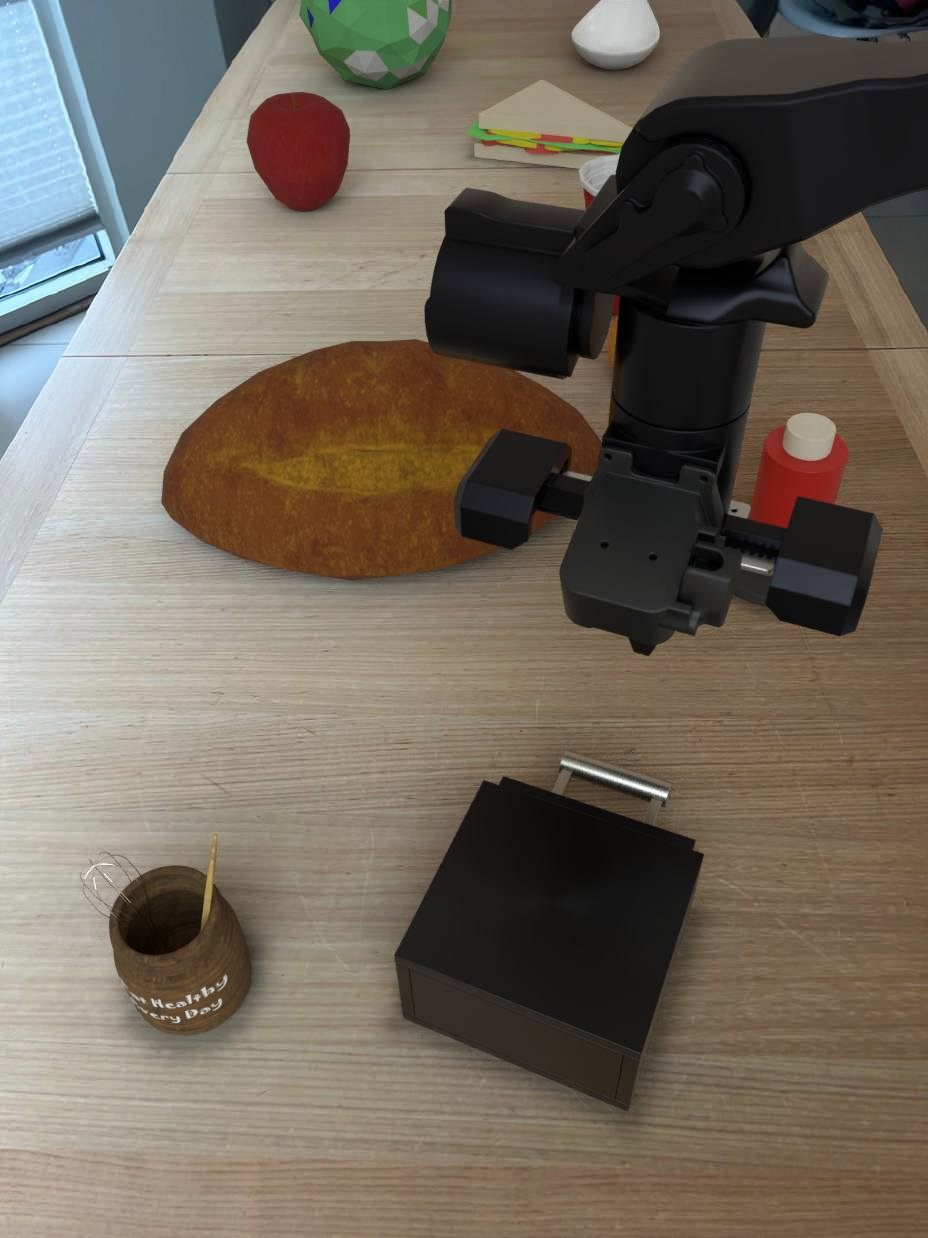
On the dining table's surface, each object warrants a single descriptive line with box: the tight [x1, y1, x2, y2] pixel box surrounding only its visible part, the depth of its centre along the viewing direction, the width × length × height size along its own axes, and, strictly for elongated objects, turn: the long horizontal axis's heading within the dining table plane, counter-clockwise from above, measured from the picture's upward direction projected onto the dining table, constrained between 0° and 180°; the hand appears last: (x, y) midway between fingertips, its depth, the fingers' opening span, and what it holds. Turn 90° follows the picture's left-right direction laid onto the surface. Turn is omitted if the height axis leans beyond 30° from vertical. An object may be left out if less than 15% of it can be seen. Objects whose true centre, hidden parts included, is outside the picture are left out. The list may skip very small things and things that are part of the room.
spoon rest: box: [570, 0, 661, 71], centre depth 147 cm, size 24×12×7 cm, turn 167°
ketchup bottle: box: [748, 412, 850, 577], centre depth 70 cm, size 5×5×11 cm
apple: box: [246, 91, 351, 213], centre depth 113 cm, size 11×11×12 cm
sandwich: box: [465, 79, 633, 170], centre depth 122 cm, size 15×20×5 cm
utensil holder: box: [79, 832, 252, 1037], centre depth 49 cm, size 6×6×12 cm
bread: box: [160, 338, 602, 581], centre depth 76 cm, size 21×33×12 cm, turn 92°
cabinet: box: [393, 779, 705, 1112], centre depth 51 cm, size 10×11×6 cm
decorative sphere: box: [298, 0, 457, 90], centre depth 136 cm, size 19×20×20 cm
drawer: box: [498, 748, 697, 851], centre depth 54 cm, size 14×10×5 cm
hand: (643, 649), depth 55 cm, fingers closed
